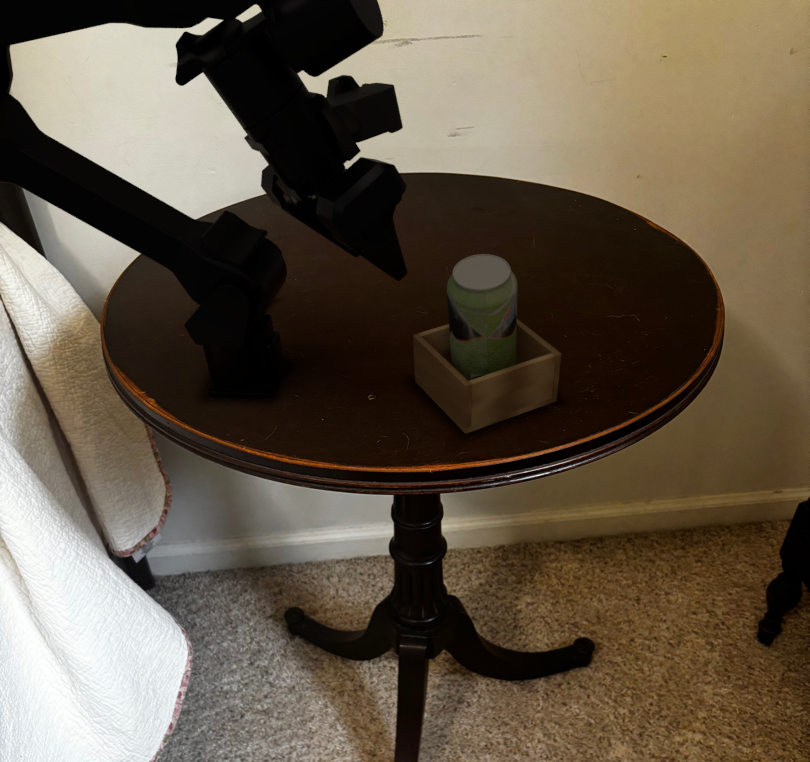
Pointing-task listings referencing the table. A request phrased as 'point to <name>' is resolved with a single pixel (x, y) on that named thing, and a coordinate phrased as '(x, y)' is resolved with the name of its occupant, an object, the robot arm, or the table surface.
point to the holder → (487, 379)
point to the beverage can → (482, 315)
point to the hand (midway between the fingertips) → (380, 265)
